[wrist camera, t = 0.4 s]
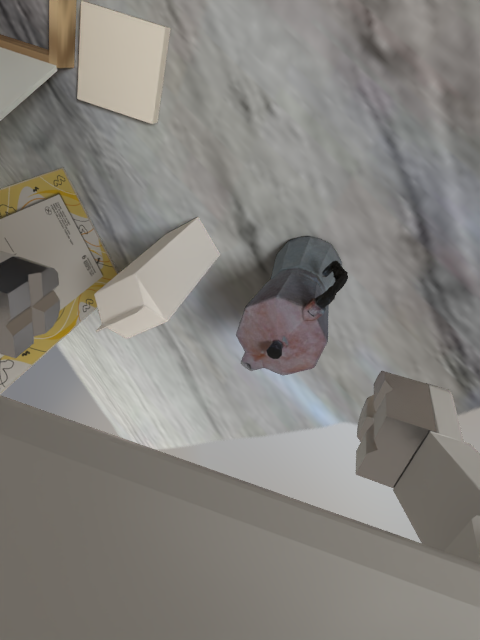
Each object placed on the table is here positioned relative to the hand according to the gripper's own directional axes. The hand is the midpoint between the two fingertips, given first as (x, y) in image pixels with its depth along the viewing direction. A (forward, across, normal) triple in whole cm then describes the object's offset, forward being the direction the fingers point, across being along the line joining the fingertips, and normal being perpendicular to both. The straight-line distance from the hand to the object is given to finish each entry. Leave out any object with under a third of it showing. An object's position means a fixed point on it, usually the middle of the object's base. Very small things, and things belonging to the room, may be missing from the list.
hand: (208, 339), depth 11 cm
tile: (+46, +26, 0) cm, 53 cm away
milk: (+46, +14, +20) cm, 52 cm away
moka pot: (+46, -2, +18) cm, 49 cm away
